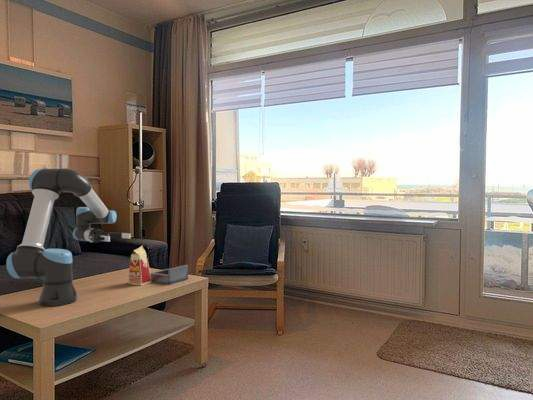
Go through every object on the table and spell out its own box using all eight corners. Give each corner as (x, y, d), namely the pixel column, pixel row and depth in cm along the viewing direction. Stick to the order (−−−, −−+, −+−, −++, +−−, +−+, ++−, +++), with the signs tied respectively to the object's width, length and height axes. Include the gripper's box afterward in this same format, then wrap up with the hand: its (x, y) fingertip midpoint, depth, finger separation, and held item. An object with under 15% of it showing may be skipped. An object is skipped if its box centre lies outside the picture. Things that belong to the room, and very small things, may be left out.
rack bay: (170, 284, 210) (170, 269, 210) (150, 281, 218) (149, 266, 218) (188, 279, 222) (188, 265, 222) (168, 276, 230) (168, 262, 230)
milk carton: (139, 280, 219) (138, 244, 219) (152, 282, 215) (151, 245, 215) (126, 284, 211) (126, 246, 211) (139, 285, 207) (139, 247, 207)
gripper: (113, 239, 236) (138, 241, 225) (74, 244, 214) (100, 247, 203) (112, 226, 235) (138, 228, 225) (74, 230, 214) (99, 232, 203)
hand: (120, 237), depth 214 cm, fingers open, 13 cm apart
